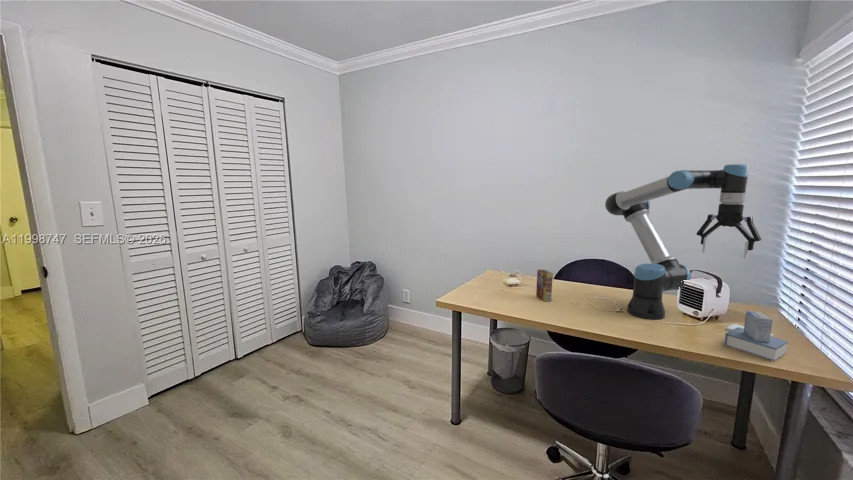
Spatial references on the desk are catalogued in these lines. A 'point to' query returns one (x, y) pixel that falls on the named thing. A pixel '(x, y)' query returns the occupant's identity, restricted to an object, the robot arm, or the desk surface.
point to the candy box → (544, 285)
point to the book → (756, 344)
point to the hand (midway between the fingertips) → (724, 255)
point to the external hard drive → (739, 327)
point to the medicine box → (758, 326)
